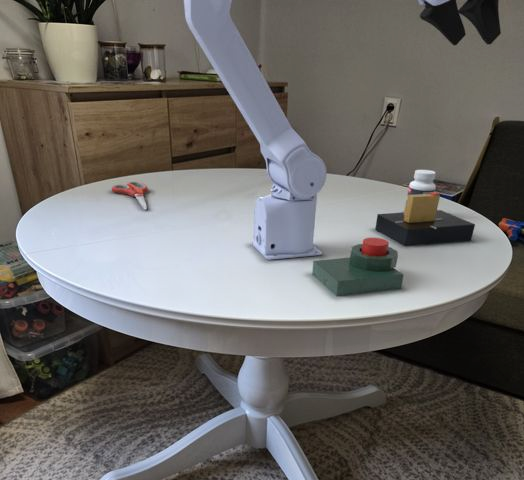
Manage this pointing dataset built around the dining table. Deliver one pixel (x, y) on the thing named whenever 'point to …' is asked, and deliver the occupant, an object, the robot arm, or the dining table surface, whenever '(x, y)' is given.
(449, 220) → the dark gray flat block
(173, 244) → the dining table surface
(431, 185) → the pill bottle
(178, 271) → the dining table surface
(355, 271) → the button box
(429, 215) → the tan wooden brick
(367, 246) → the button
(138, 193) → the scissors
